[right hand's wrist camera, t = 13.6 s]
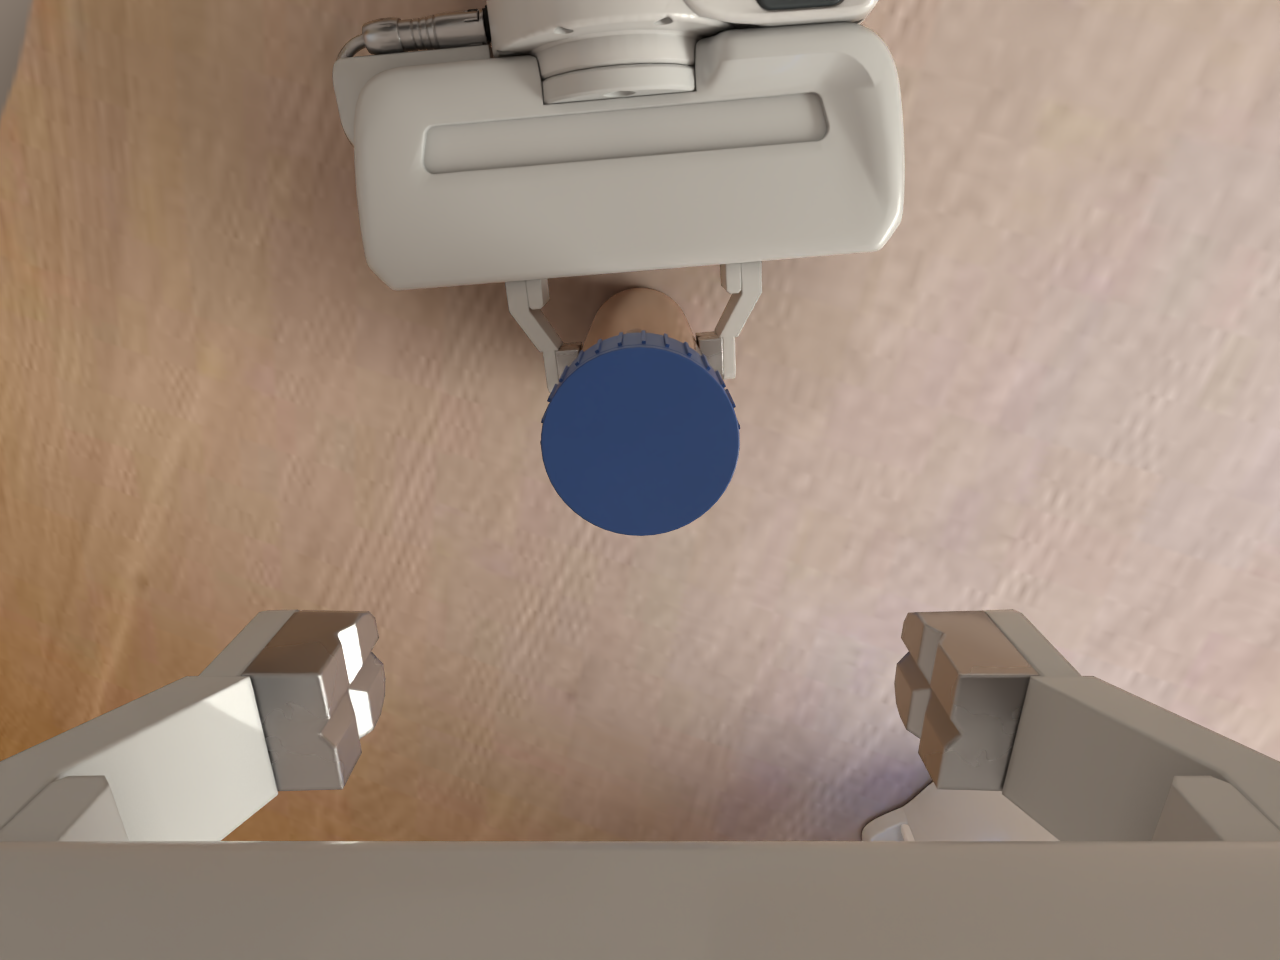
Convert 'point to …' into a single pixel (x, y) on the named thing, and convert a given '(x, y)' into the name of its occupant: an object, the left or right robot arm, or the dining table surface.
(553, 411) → the lid
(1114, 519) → the dining table surface
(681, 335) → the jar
